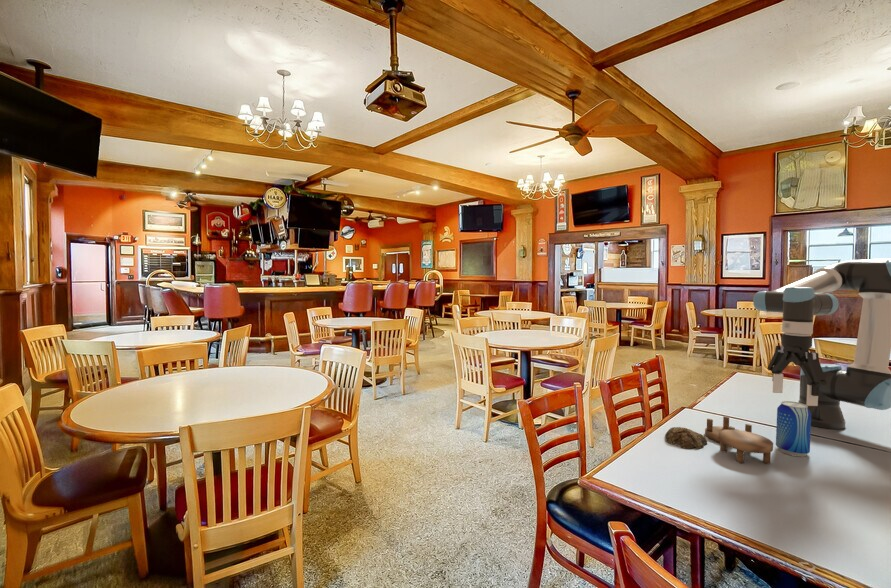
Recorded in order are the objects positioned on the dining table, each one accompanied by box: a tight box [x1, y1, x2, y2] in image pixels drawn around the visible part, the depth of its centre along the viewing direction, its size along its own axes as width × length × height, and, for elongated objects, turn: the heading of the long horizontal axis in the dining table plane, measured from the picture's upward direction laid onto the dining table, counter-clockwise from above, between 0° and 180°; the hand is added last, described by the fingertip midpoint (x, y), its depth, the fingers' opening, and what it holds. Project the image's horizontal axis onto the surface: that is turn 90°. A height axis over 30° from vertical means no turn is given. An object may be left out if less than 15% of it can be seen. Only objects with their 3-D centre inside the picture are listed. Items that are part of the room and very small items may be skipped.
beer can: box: [775, 400, 812, 458], centre depth 130 cm, size 8×8×16 cm
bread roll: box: [664, 426, 708, 450], centre depth 139 cm, size 13×12×5 cm
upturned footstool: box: [704, 415, 753, 444], centre depth 141 cm, size 14×14×6 cm
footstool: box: [718, 429, 774, 465], centre depth 128 cm, size 14×14×6 cm
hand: (793, 398), depth 130 cm, fingers open, 13 cm apart
